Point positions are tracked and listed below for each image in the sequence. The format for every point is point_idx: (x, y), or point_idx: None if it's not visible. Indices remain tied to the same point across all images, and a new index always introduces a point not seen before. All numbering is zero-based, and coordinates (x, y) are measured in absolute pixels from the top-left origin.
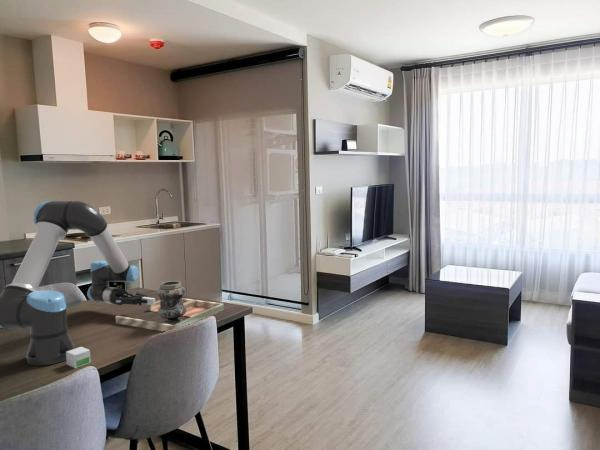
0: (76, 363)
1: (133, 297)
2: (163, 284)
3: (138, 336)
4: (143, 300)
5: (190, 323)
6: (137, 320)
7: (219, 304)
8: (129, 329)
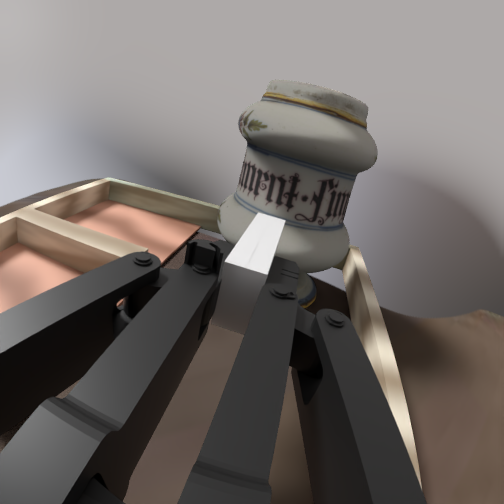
0: None
1: (276, 371)
2: (321, 100)
3: (430, 336)
4: (297, 275)
5: None
6: (392, 355)
7: (115, 181)
8: (415, 401)
